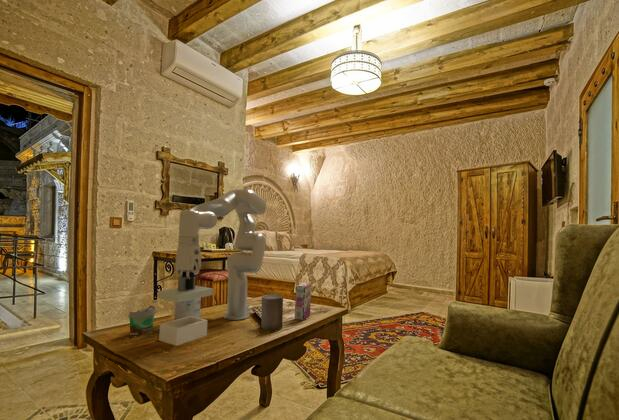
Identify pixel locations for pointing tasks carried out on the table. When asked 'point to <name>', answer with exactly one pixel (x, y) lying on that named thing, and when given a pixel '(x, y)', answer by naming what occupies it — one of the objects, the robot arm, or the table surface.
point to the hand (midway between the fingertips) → (186, 288)
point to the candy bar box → (302, 301)
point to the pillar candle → (272, 312)
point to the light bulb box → (187, 308)
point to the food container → (142, 321)
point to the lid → (184, 292)
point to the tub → (183, 330)
